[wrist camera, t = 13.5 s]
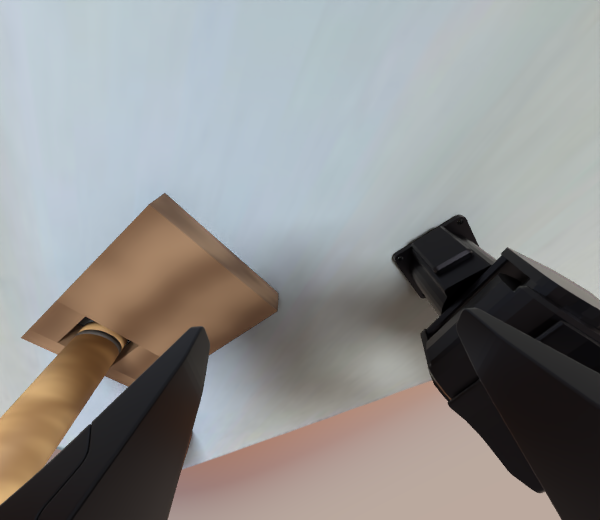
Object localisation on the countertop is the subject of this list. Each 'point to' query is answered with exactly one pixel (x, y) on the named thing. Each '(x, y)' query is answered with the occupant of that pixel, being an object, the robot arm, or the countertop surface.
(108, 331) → the oak peg
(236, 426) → the countertop surface
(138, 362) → the walnut board
